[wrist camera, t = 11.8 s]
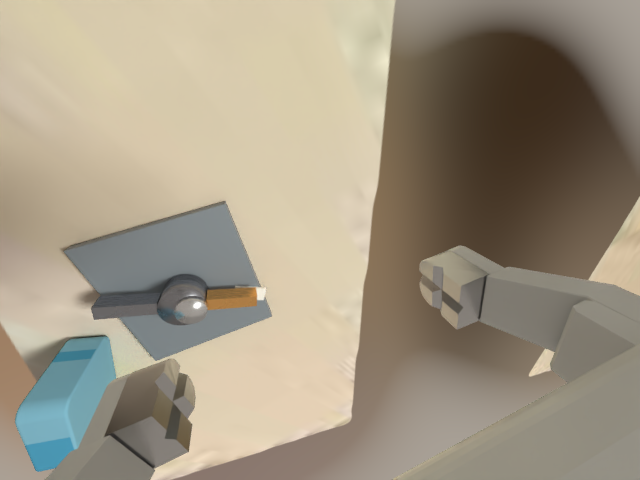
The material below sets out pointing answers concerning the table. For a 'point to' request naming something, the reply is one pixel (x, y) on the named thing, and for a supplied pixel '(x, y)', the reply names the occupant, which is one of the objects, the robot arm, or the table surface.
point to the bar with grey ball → (175, 301)
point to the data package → (65, 400)
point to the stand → (174, 273)
